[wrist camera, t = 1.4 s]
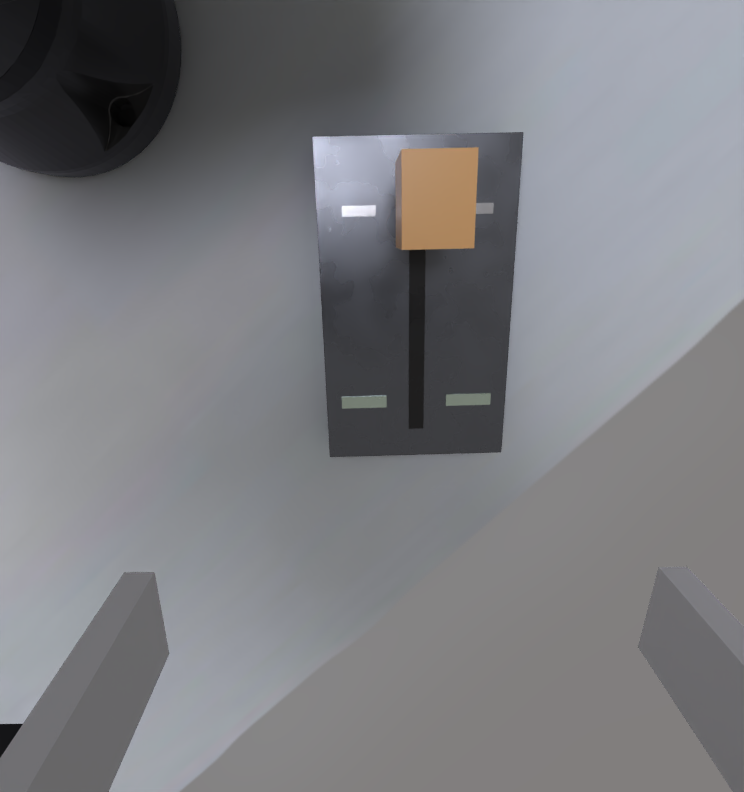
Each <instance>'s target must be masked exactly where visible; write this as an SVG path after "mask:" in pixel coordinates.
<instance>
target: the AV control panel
mask: <svg viewBox="0 0 744 792" xmlns="http://www.w3.org/2000/svg"><path fill="white" fill-rule="evenodd" d="M522 145H523V132H514V133H467V134H420V135H372V136H325V137H313V155H314V173H315V191H316V210H317V228H318V246H319V265H320V283H321V301H322V319H323V338H324V356H325V374H326V392H327V411H328V429H329V447H330V457H344V456H381V455H417V454H453V453H489V452H501V447H502V433H503V419H504V404H505V390H506V375H507V361H508V347H509V332H510V318H511V303H512V289H513V275H514V260H515V246H516V232H517V217H518V203H519V188H520V174H521V160H522ZM473 147H479V149H478V172H477V195H476V218H475V241H474V248H464V249H422V250H401V249H398V248H396V194H395V162H396V160H397V158H398V156H399V153H400V151H401V149H427V148H473Z"/></svg>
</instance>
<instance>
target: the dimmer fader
mask: <svg viewBox="0 0 744 792" xmlns="http://www.w3.org/2000/svg"><path fill="white" fill-rule="evenodd" d="M478 149H479V147H473V148H427V149H401V151H400V153H399V156H398V158H397V160H396V162H395V194H396V248H398V249H401V250H422V249H464V248H474V241H475V218H476V195H477V172H478Z"/></svg>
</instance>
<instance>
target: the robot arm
mask: <svg viewBox="0 0 744 792" xmlns="http://www.w3.org/2000/svg"><path fill="white" fill-rule="evenodd" d="M180 65H181V40H180V29H179V23H178V17H177V13H176V8H175V4H174V1H173V0H0V162H3V163H5V164H8V165H11V166H14V167H17V168H20V169H24V170H28V171H33V172H38V173H43V174H49V175H54V176H62V177H84V176H91V175H96V174H100V173H104V172H107V171H110V170H112V169H115V168H117V167H119V166H121V165H123V164H125V163H126V162H128V161H129V160H131V159H132V158H134V157H135V156H136V155H138V154H139V153H140V152H141V151H142V150H143V149H144V148H145V147H146V146H147V145H148V144H149V143H150V142H151V141H152V140H153V139H154V137H155V136H156V134H157V133H158V132H159V130H160V129H161V127H162V125H163V124H164V122H165V120H166V118H167V116H168V114H169V111H170V109H171V106H172V104H173V101H174V98H175V94H176V90H177V86H178V81H179V75H180ZM638 648H639V649H640V651H641V652H642V654H643V655H644V657H645V658H646V660H647V661H648V663H649V664H650V666H651V667H652V669H653V670H654V672H655V674H656V675H657V677H658V678H659V680H660V681H661V683H662V684H663V686H664V687H665V689H666V690H667V692H668V693H669V695H670V697H671V698H672V699H673V701H674V703H675V704H676V705H677V707H678V709H679V710H680V712H681V713H682V715H683V716H684V718H685V719H686V721H687V722H688V724H689V726H690V727H691V729H692V730H693V732H694V733H695V735H696V736H697V738H698V739H699V741H700V742H701V744H702V745H703V747H704V749H705V750H706V752H707V753H708V754H709V756H710V758H711V759H712V761H713V762H714V764H715V765H716V767H717V768H718V770H719V771H720V773H721V775H722V776H723V778H724V779H725V781H726V782H727V784H728V785H729V787H730V788H731V790H732V791H733V792H744V626H743V625H742V624H741V623H740V622H739V621H738V620H737V619H736V618H735V617H734V616H733V615H732V614H731V612H730V611H729V610H728V609H727V608H726V607H725V606H724V605H723V604H722V603H721V602H720V601H719V600H718V599H717V598H716V597H715V596H714V595H713V593H711V591H710V590H709V589H708V588H707V587H706V586H705V585H704V584H703V583H702V582H701V581H700V580H699V579H698V578H697V577H696V576H695V574H693V572H692V571H691V570H690V569H689V568H688V567H658V571H657V575H656V579H655V583H654V587H653V591H652V594H651V598H650V602H649V606H648V610H647V614H646V618H645V622H644V626H643V630H642V633H641V637H640V641H639V645H638ZM168 655H169V650H168V644H167V639H166V633H165V628H164V622H163V617H162V611H161V605H160V600H159V594H158V589H157V583H156V578H155V572H130V573H124V574H123V575H122V577H121V578H120V580H119V581H118V583H117V584H116V586H115V587H114V589H113V590H112V592H111V593H110V595H109V596H108V598H107V599H106V601H105V602H104V604H103V605H102V607H101V608H100V610H99V611H98V613H97V614H96V616H95V617H94V619H93V620H92V622H91V623H90V625H89V626H88V628H87V629H86V631H85V632H84V634H83V635H82V636H81V638H80V639H79V641H78V642H77V644H76V645H75V647H74V648H73V650H72V651H71V653H70V654H69V656H68V657H67V659H66V660H65V662H64V663H63V665H62V666H61V668H60V669H59V671H58V672H57V674H56V675H55V677H54V678H53V680H52V681H51V683H50V684H49V686H48V687H47V689H46V690H45V692H44V693H43V695H42V696H41V698H40V699H39V701H38V702H37V704H36V705H35V707H34V708H33V710H32V711H31V713H30V714H29V716H28V717H27V719H26V720H25V722H24V723H23V724H0V792H109V789H110V787H111V785H112V783H113V780H114V778H115V776H116V773H117V771H118V769H119V767H120V764H121V762H122V760H123V758H124V755H125V753H126V751H127V748H128V746H129V744H130V742H131V739H132V737H133V735H134V733H135V730H136V728H137V726H138V723H139V721H140V719H141V717H142V714H143V712H144V710H145V707H146V705H147V703H148V701H149V698H150V696H151V694H152V692H153V689H154V687H155V685H156V682H157V680H158V678H159V676H160V673H161V671H162V669H163V667H164V664H165V662H166V660H167V657H168Z"/></svg>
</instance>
